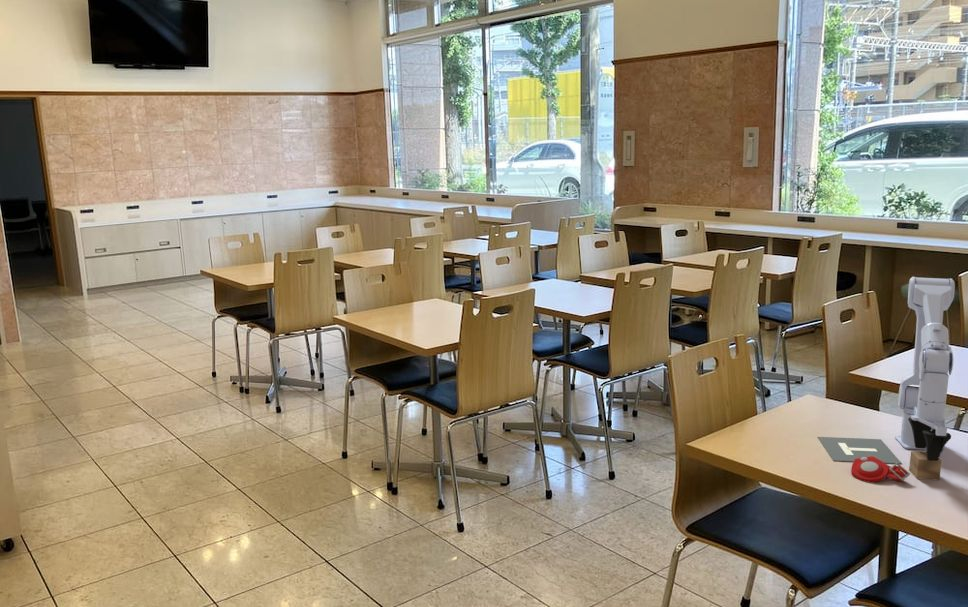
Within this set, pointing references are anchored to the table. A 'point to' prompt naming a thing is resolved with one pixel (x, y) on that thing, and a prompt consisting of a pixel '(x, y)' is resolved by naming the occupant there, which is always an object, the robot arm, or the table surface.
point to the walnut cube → (924, 466)
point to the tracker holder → (876, 470)
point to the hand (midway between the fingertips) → (926, 453)
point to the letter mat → (857, 449)
